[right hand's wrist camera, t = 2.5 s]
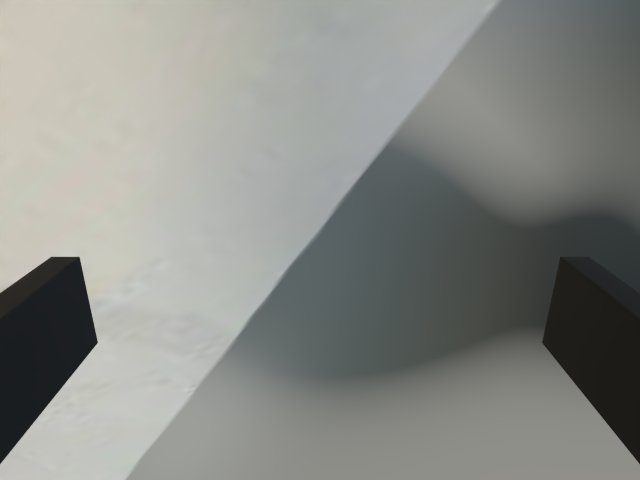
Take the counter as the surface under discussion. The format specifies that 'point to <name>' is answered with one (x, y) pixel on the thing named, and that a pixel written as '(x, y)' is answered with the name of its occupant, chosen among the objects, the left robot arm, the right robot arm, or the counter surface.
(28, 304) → the right robot arm
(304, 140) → the counter surface
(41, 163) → the counter surface
